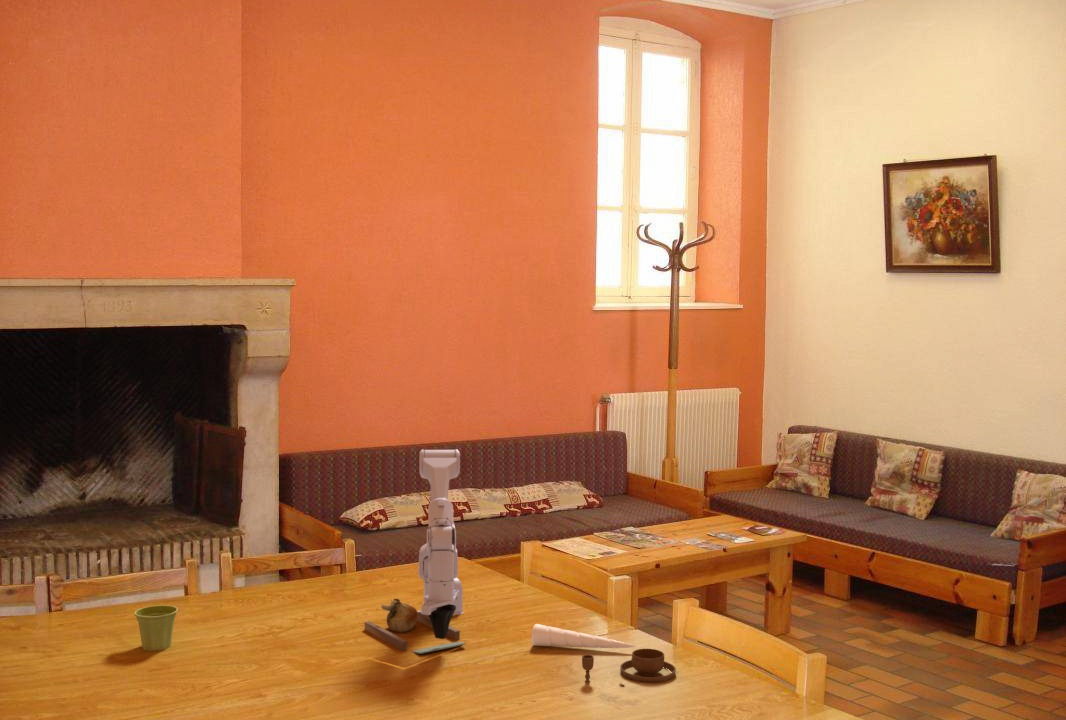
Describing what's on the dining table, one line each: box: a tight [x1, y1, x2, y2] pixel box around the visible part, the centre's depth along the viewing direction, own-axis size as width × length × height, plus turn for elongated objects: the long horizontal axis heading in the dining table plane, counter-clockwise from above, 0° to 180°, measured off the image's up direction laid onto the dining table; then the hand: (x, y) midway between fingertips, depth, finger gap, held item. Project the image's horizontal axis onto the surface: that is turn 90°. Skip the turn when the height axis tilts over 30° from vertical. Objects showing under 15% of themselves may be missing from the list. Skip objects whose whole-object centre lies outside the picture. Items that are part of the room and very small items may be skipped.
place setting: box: [581, 648, 677, 688], centre depth 236 cm, size 18×20×6 cm
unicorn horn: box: [531, 623, 636, 649], centre depth 250 cm, size 5×24×5 cm
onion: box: [381, 598, 418, 633], centre depth 263 cm, size 8×8×8 cm
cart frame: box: [364, 612, 461, 652], centre depth 259 cm, size 15×18×2 cm
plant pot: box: [133, 604, 179, 652], centre depth 249 cm, size 9×9×9 cm
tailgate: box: [411, 641, 467, 655], centre depth 249 cm, size 1×12×5 cm
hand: (440, 637), depth 248 cm, fingers closed
